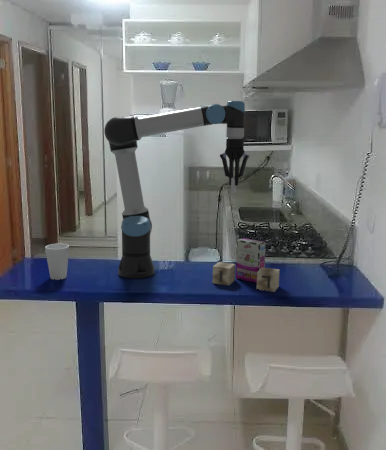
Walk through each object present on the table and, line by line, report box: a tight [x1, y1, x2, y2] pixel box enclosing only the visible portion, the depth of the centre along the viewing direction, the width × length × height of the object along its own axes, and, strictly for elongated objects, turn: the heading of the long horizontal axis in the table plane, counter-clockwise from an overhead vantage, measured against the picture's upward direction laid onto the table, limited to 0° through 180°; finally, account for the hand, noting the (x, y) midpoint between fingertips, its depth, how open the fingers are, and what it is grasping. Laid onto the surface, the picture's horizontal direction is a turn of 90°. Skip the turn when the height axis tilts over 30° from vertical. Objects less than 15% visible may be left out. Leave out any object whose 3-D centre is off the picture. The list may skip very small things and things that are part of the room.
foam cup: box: [44, 243, 70, 281], centre depth 197 cm, size 10×9×13 cm
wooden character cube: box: [212, 261, 236, 286], centre depth 195 cm, size 7×7×7 cm
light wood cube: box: [256, 267, 280, 293], centre depth 188 cm, size 7×7×7 cm
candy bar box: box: [235, 237, 267, 284], centre depth 196 cm, size 11×5×16 cm, turn 49°
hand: (233, 192), depth 213 cm, fingers closed
